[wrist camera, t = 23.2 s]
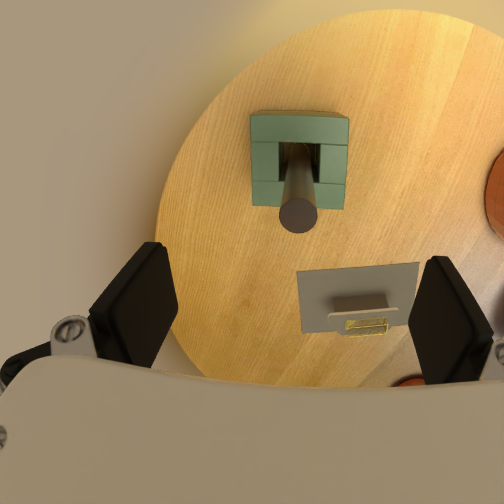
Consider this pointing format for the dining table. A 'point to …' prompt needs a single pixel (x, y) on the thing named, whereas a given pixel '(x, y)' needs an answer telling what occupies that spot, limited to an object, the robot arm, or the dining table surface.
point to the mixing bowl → (496, 197)
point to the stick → (298, 192)
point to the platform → (357, 298)
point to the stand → (299, 131)
